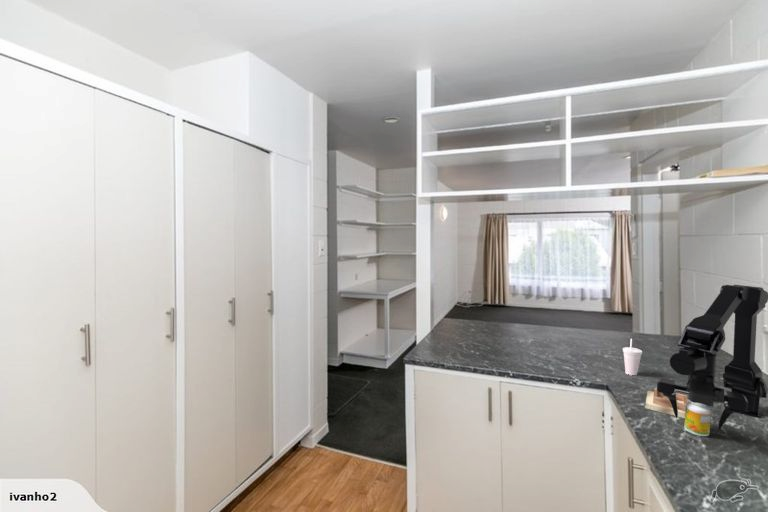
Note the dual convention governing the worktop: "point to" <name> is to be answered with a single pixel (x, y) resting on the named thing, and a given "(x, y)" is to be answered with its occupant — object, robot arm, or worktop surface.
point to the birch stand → (666, 403)
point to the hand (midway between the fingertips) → (697, 422)
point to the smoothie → (631, 359)
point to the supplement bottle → (697, 419)
